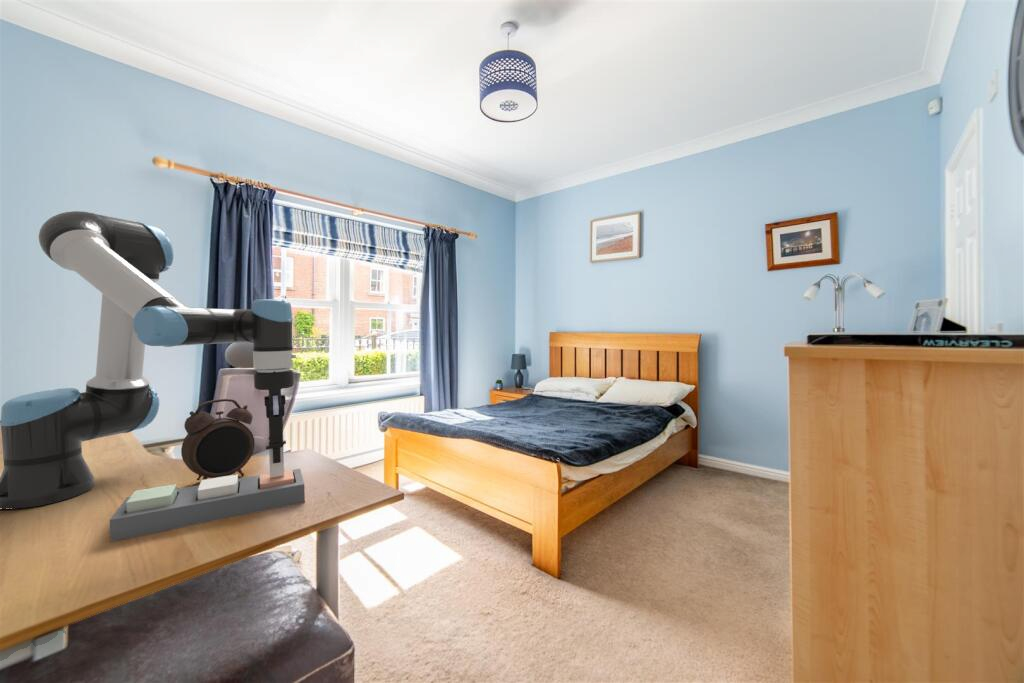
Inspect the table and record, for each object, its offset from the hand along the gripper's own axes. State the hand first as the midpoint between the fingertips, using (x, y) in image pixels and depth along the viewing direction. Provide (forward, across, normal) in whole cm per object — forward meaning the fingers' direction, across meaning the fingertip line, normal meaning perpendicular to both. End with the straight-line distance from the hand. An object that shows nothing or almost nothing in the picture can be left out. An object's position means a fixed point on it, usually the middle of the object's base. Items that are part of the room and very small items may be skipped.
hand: (277, 475), depth 91 cm
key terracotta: (+3, 0, 0) cm, 3 cm away
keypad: (+5, 0, +11) cm, 12 cm away
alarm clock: (+5, +20, +12) cm, 24 cm away
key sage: (+2, 0, +21) cm, 21 cm away
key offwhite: (+2, 0, +11) cm, 11 cm away
